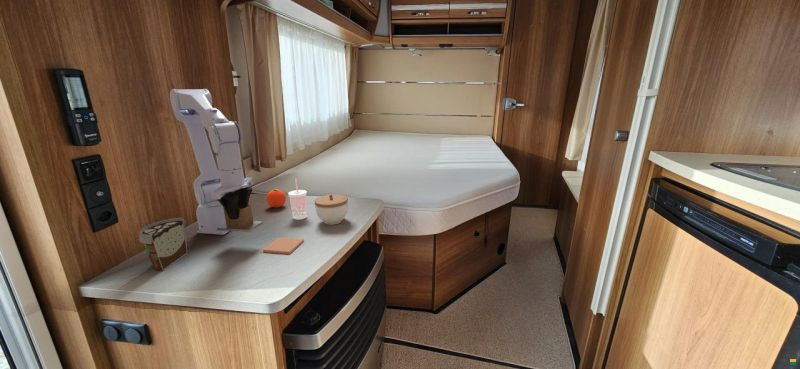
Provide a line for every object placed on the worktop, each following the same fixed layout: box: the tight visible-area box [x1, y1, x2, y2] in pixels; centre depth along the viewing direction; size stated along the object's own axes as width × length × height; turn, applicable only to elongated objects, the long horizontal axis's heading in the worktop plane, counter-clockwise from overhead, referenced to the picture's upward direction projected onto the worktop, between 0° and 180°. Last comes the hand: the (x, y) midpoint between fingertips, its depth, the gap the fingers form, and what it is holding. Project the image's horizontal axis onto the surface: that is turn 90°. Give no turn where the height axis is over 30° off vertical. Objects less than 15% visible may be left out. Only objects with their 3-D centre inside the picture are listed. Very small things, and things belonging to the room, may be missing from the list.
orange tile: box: [262, 236, 305, 255], centre depth 93 cm, size 1×8×8 cm
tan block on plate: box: [217, 204, 264, 233], centre depth 92 cm, size 10×6×6 cm, turn 79°
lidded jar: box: [313, 193, 349, 225], centre depth 109 cm, size 11×11×9 cm
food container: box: [138, 217, 189, 272], centre depth 84 cm, size 12×6×10 cm, turn 178°
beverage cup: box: [287, 177, 308, 220], centre depth 113 cm, size 6×6×14 cm
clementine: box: [266, 188, 287, 209], centre depth 125 cm, size 8×7×7 cm
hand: (238, 216), depth 92 cm, fingers open, 3 cm apart
